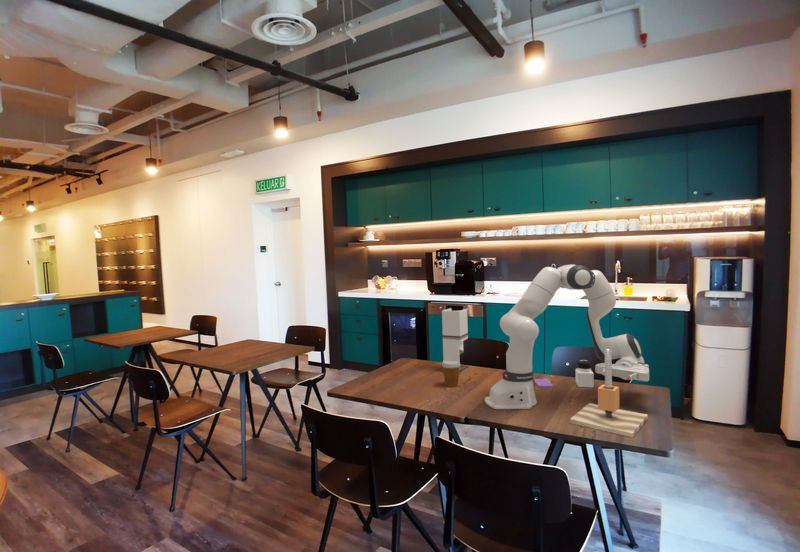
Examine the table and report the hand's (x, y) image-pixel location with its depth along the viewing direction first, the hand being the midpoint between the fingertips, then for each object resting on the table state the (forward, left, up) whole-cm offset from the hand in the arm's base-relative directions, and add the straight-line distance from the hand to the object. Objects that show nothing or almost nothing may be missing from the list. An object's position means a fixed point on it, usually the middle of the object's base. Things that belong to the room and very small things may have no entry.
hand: (616, 375), depth 174 cm
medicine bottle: (+7, +35, -15) cm, 39 cm away
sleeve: (-9, -8, -10) cm, 15 cm away
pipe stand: (-9, -8, -15) cm, 19 cm away
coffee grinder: (-46, +77, -15) cm, 91 cm away
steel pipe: (-9, -8, -13) cm, 18 cm away
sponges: (-12, +41, -16) cm, 46 cm away
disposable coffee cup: (-56, +51, -15) cm, 77 cm away
